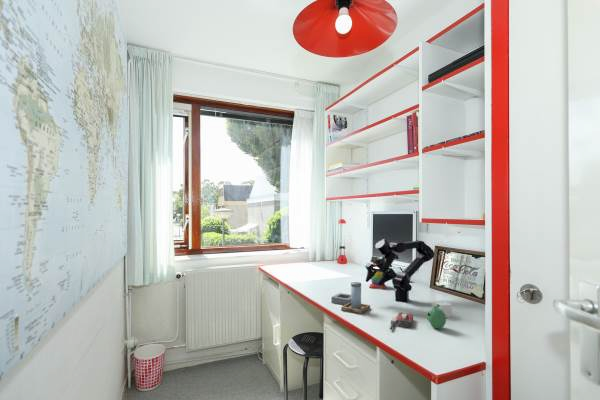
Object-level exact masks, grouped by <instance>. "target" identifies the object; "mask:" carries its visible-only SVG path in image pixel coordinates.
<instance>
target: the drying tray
mask: <svg viewBox="0 0 600 400" xmlns="http://www.w3.org/2000/svg"><path fill="white" fill-rule="evenodd" d="M370 309H371V305H370V304H367V303H365V304H364V303H361V309H353V308H351V302H349V303H347V304H346V305H342V306H341V308H340V311H342V312H348V313H352V314H357V315H363V314H365V313H366V312H368V311H369V310H370Z"/></svg>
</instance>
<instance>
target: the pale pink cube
mask: <svg viewBox="0 0 600 400" xmlns="http://www.w3.org/2000/svg"><path fill="white" fill-rule="evenodd" d="M437 304H439V305H440V306H439V309H441V310H442V311H443V312H444V314H445V316H446V318H452V304H451V303H449V302H446V301H444V300H439V301H432V302H431V306H432V307H431V309H433V308H434V306H437ZM437 308H438V306H437Z"/></svg>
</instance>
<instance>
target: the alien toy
mask: <svg viewBox="0 0 600 400" xmlns="http://www.w3.org/2000/svg"><path fill="white" fill-rule="evenodd" d="M437 306H438V308H437ZM437 306H434V308H433V309H432V308H431V309H430V310H429V311H428V313H427V316H426V319H427V320H428V322H429V324H430V326H431V327H433V329H438V330H440V329H442V328H444V326H445V325H446V322H447V317H446V316H445V314H444V312H443V311H442V310H441V309H439V306H440V305H439V304H437Z"/></svg>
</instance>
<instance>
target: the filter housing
mask: <svg viewBox="0 0 600 400" xmlns="http://www.w3.org/2000/svg"><path fill="white" fill-rule="evenodd" d="M349 302H351V294H348V293H342V292H339V293H337V294H335V295H332V296H331V303H332V304H337V305H342V306H344V305H346V304H347V303H349Z"/></svg>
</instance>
